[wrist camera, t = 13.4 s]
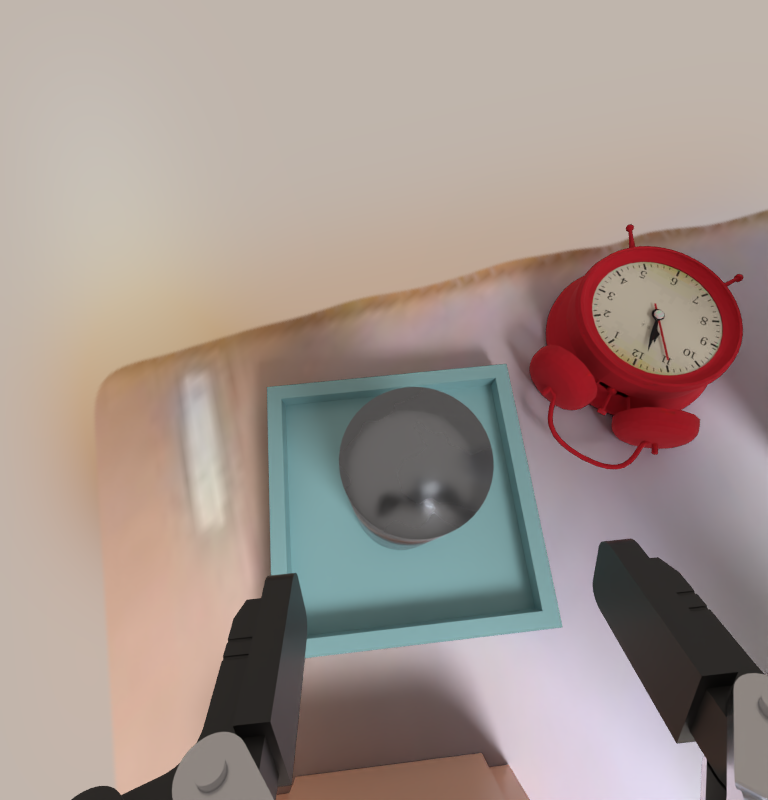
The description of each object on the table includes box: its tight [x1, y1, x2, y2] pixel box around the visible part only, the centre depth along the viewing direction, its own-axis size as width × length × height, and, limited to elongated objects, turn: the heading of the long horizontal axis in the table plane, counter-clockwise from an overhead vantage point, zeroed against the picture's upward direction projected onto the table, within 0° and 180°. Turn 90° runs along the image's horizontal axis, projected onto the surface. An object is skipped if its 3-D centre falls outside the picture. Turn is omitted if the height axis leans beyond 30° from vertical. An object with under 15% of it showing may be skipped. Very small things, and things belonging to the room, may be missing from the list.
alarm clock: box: [530, 224, 743, 469], centre depth 27 cm, size 10×6×15 cm
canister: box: [339, 387, 494, 550], centre depth 20 cm, size 5×5×11 cm
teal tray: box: [267, 364, 562, 658], centre depth 25 cm, size 14×14×2 cm
